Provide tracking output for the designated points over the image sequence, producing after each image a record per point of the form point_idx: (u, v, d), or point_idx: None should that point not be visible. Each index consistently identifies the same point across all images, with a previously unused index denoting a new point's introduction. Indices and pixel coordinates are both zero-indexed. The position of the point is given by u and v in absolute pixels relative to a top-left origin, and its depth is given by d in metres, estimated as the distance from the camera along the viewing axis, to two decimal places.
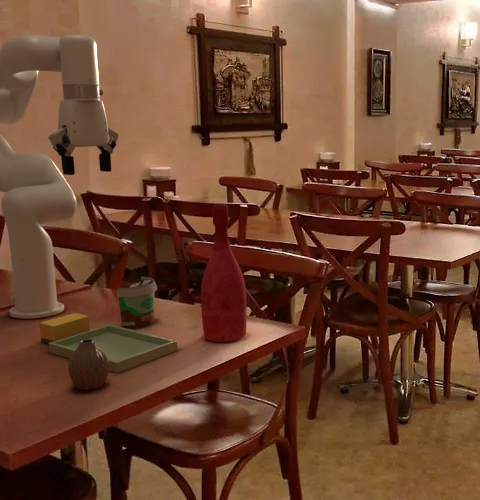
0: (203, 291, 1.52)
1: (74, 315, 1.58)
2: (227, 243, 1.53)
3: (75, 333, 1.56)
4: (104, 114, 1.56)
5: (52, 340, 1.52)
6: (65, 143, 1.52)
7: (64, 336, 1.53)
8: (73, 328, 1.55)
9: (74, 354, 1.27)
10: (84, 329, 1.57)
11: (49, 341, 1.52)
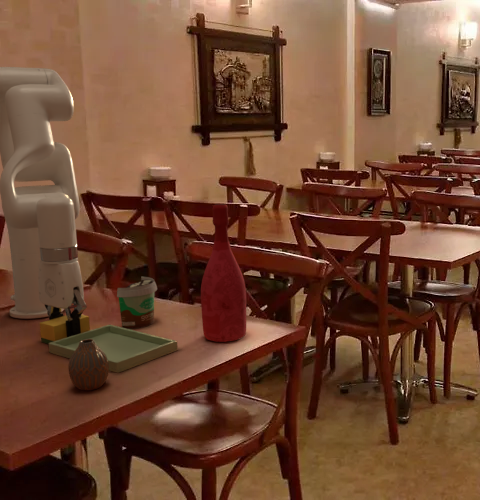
0: (203, 291, 1.52)
1: None
2: (227, 243, 1.53)
3: None
4: None
5: (52, 340, 1.52)
6: (70, 307, 1.53)
7: (64, 336, 1.53)
8: None
9: (74, 354, 1.27)
10: (84, 329, 1.57)
11: (49, 341, 1.52)
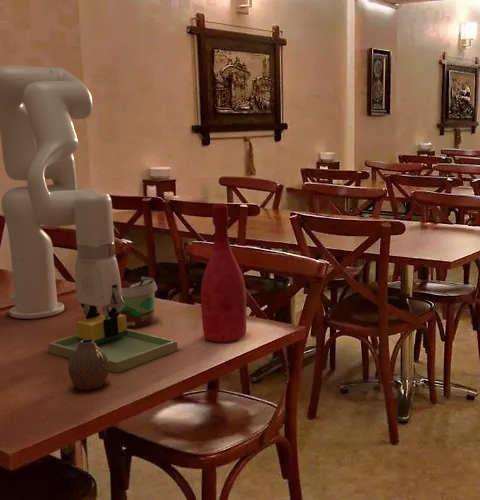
0: (203, 291, 1.52)
1: None
2: (227, 243, 1.53)
3: None
4: None
5: None
6: (108, 306, 1.48)
7: (102, 336, 1.49)
8: None
9: (74, 354, 1.27)
10: (121, 328, 1.53)
11: None
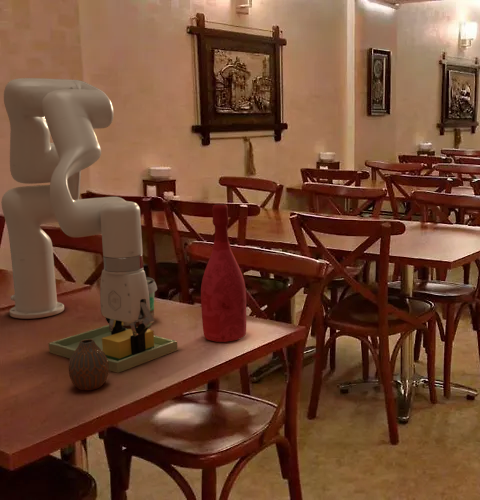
0: (203, 291, 1.52)
1: None
2: (227, 243, 1.53)
3: None
4: None
5: (116, 357, 1.39)
6: (135, 321, 1.40)
7: (129, 353, 1.41)
8: None
9: (74, 354, 1.27)
10: (148, 344, 1.45)
11: (113, 358, 1.40)
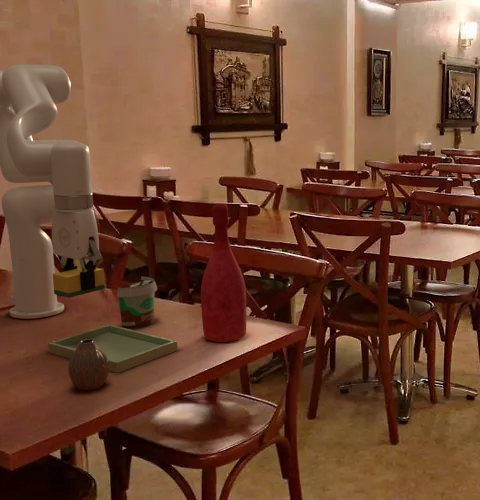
0: (203, 291, 1.52)
1: None
2: (227, 243, 1.53)
3: None
4: None
5: (66, 292, 1.46)
6: (85, 258, 1.46)
7: (78, 288, 1.47)
8: None
9: (74, 354, 1.27)
10: (99, 282, 1.51)
11: (63, 293, 1.46)
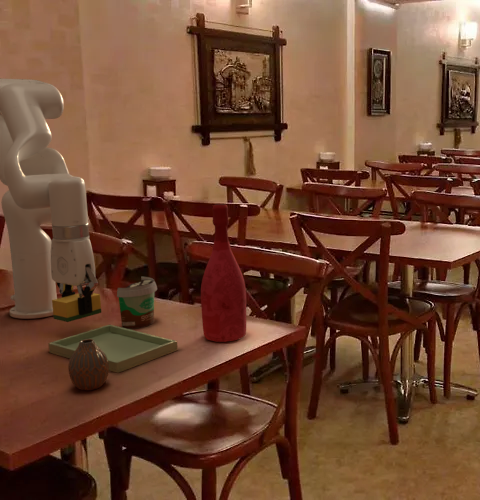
0: (203, 291, 1.52)
1: None
2: (227, 243, 1.53)
3: None
4: None
5: (64, 317, 1.54)
6: (82, 284, 1.55)
7: (76, 313, 1.56)
8: None
9: (74, 354, 1.27)
10: (95, 307, 1.60)
11: (61, 318, 1.55)
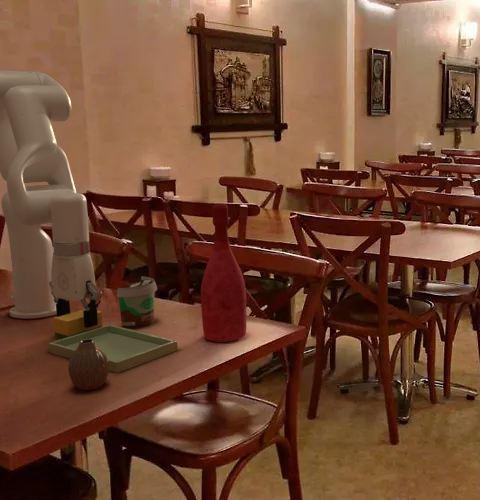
0: (203, 291, 1.52)
1: None
2: (227, 243, 1.53)
3: (88, 328, 1.59)
4: None
5: (66, 335, 1.55)
6: (85, 297, 1.56)
7: (78, 331, 1.57)
8: None
9: (74, 354, 1.27)
10: (97, 324, 1.61)
11: (63, 336, 1.56)
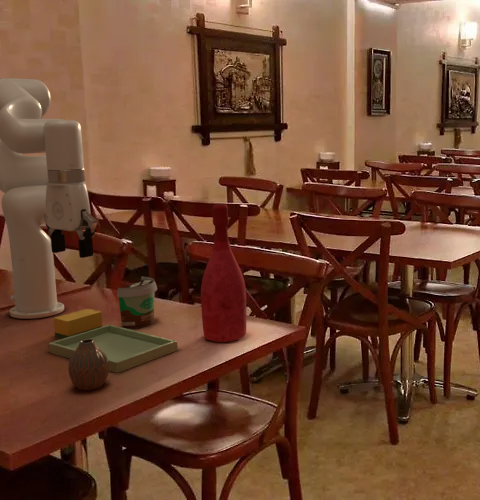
0: (203, 291, 1.52)
1: (87, 311, 1.62)
2: (227, 243, 1.53)
3: (88, 328, 1.59)
4: None
5: (66, 335, 1.55)
6: (80, 227, 1.52)
7: (78, 331, 1.57)
8: (86, 323, 1.58)
9: (74, 354, 1.27)
10: (97, 324, 1.61)
11: (63, 336, 1.56)
